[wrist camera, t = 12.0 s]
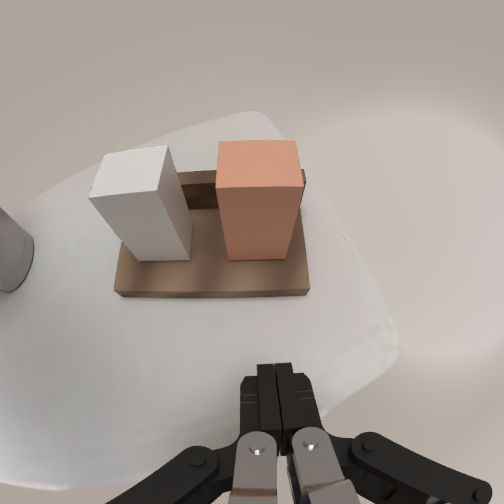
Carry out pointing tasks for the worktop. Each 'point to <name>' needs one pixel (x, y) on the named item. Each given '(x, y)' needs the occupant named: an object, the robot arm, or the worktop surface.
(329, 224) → the worktop surface
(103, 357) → the worktop surface
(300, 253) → the console
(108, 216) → the grey rectangular block
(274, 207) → the orange tall block
